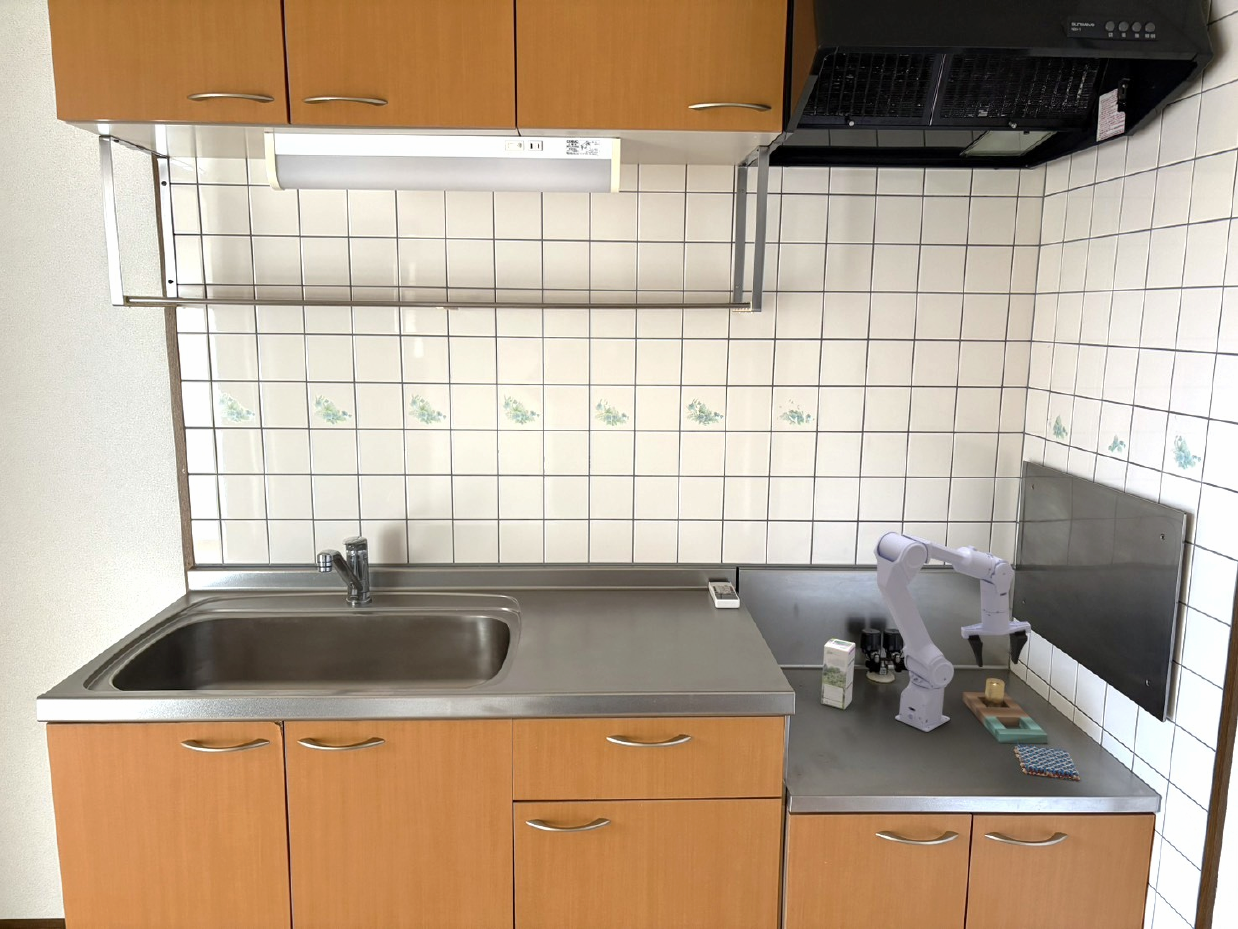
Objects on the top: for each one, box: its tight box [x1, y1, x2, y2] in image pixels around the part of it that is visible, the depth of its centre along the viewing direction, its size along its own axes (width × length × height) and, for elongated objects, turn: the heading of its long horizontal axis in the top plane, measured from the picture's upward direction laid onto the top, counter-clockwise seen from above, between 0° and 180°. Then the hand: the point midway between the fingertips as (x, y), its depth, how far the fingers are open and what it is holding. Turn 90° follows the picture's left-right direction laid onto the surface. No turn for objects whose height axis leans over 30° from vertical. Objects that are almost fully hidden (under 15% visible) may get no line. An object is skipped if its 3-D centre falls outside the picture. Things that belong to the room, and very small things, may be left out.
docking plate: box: [961, 691, 1048, 744], centre depth 189 cm, size 20×10×2 cm, turn 0°
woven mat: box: [1013, 743, 1081, 781], centre depth 171 cm, size 10×11×2 cm
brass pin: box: [984, 677, 1005, 708], centre depth 193 cm, size 4×4×7 cm
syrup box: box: [820, 638, 856, 710], centre depth 195 cm, size 6×6×14 cm
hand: (996, 663), depth 193 cm, fingers open, 7 cm apart
